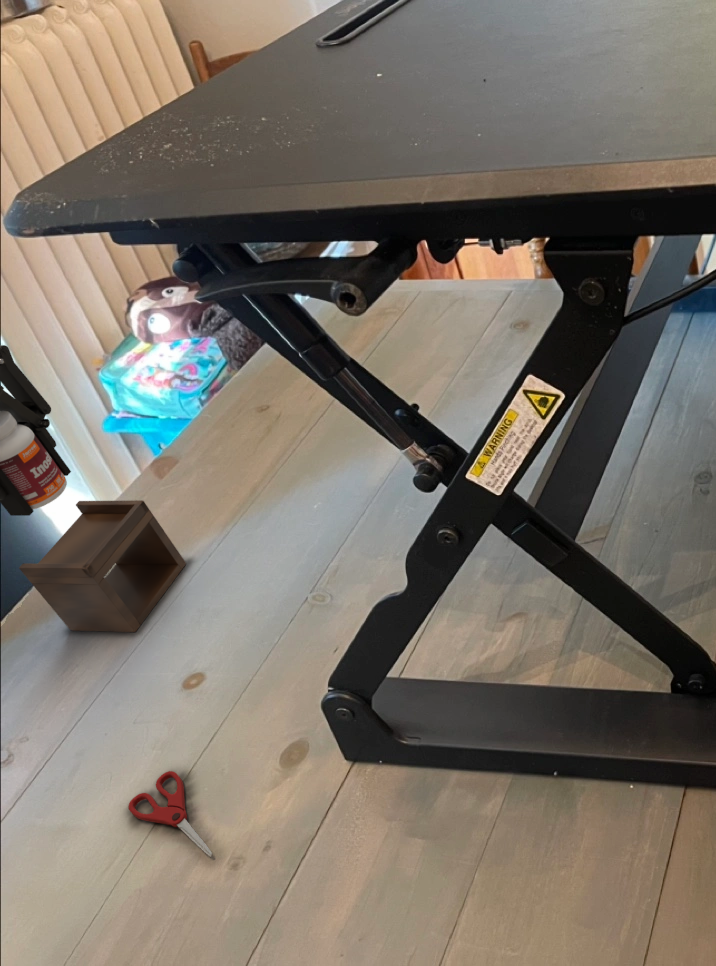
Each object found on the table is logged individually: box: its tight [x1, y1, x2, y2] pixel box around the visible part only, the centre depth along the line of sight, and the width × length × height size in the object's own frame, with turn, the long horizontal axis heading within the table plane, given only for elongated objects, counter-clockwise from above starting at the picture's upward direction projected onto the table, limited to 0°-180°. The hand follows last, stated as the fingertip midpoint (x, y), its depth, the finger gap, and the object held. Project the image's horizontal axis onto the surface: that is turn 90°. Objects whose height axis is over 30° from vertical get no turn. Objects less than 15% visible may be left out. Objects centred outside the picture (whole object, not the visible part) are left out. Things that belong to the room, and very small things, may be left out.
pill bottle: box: [0, 411, 68, 510], centre depth 123 cm, size 6×6×11 cm
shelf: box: [18, 499, 187, 633], centre depth 137 cm, size 10×12×12 cm
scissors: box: [128, 770, 213, 858], centre depth 110 cm, size 5×14×1 cm, turn 50°
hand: (41, 492), depth 127 cm, fingers closed on pill bottle, 6 cm apart
